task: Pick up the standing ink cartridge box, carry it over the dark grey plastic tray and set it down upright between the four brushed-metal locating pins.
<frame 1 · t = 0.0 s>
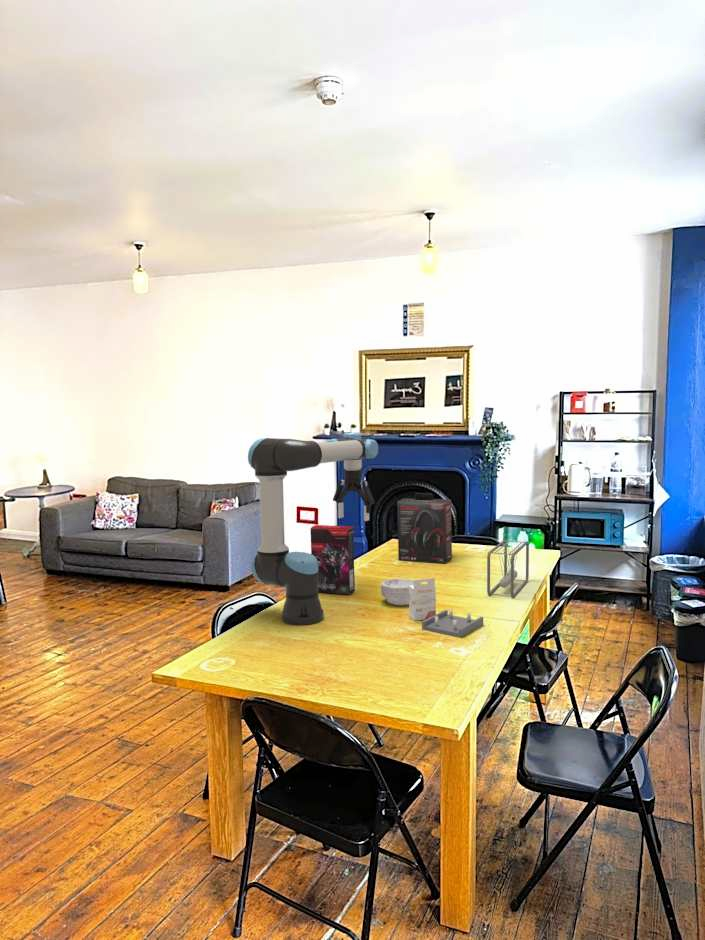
hand: (353, 519, 294), 28 cm above the table, fingers open, 13 cm apart
newton's cradle: (508, 588, 286), on the table
paper bowls: (400, 602, 269), on the table
graphics card box: (333, 592, 285), on the table
pin tray: (452, 626, 238), on the table
headset box: (424, 560, 341), on the table
ink cartridge box: (422, 618, 249), on the table
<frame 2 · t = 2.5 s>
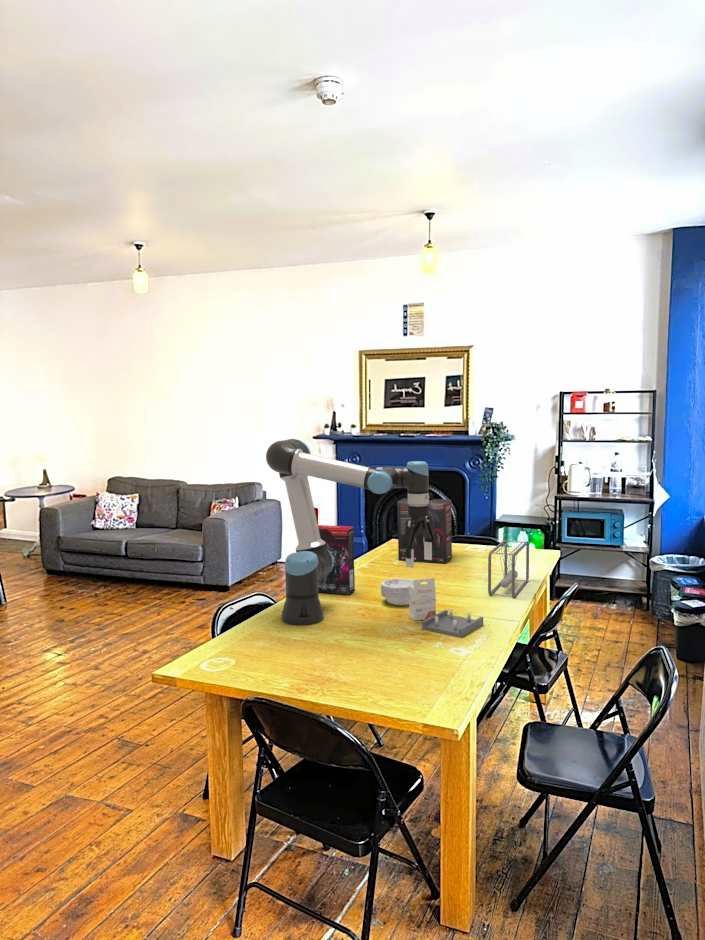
hand: (419, 563, 249), 19 cm above the table, fingers open, 13 cm apart
nothing on the table moved.
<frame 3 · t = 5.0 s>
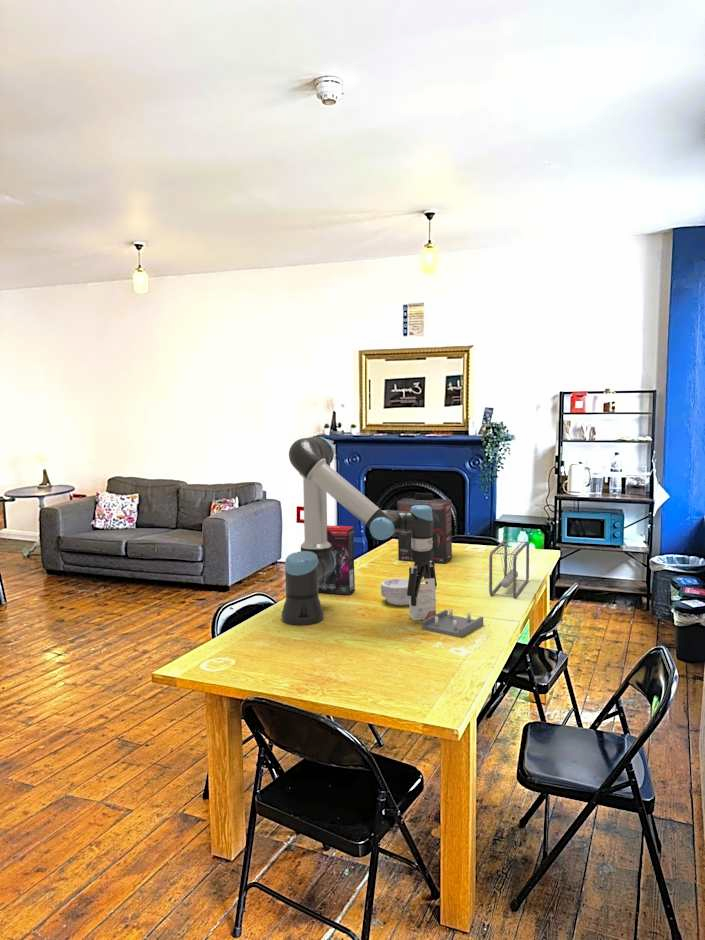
hand: (422, 610, 249), 3 cm above the table, fingers closed on ink cartridge box, 9 cm apart
ink cartridge box: (422, 618, 249), on the table, touching gripper
everything else where it was.
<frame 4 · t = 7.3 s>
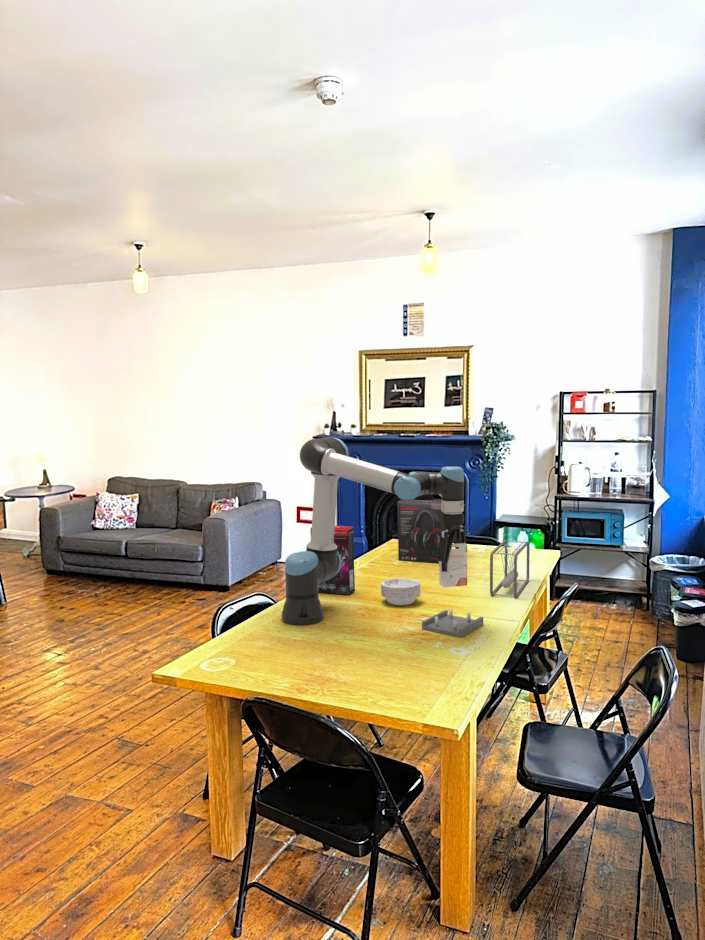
hand: (452, 577, 237), 17 cm above the table, fingers closed on ink cartridge box, 9 cm apart
ink cartridge box: (452, 585, 237), point 15 cm above the table, touching gripper
everything else where it was.
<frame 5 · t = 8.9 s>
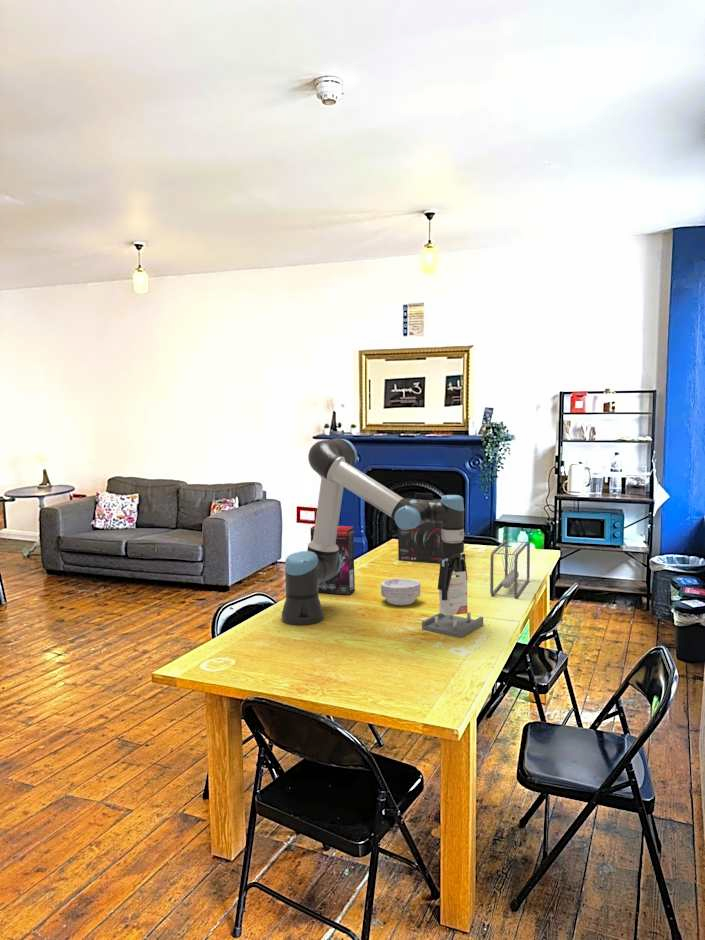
hand: (453, 605, 237), 8 cm above the table, fingers closed on ink cartridge box, 9 cm apart
ink cartridge box: (453, 613, 238), point 5 cm above the table, touching gripper
everything else where it was.
when the fingers open (6 cm above the table, at t = 9.8 s): ink cartridge box drops 2 cm, resting on pin tray.
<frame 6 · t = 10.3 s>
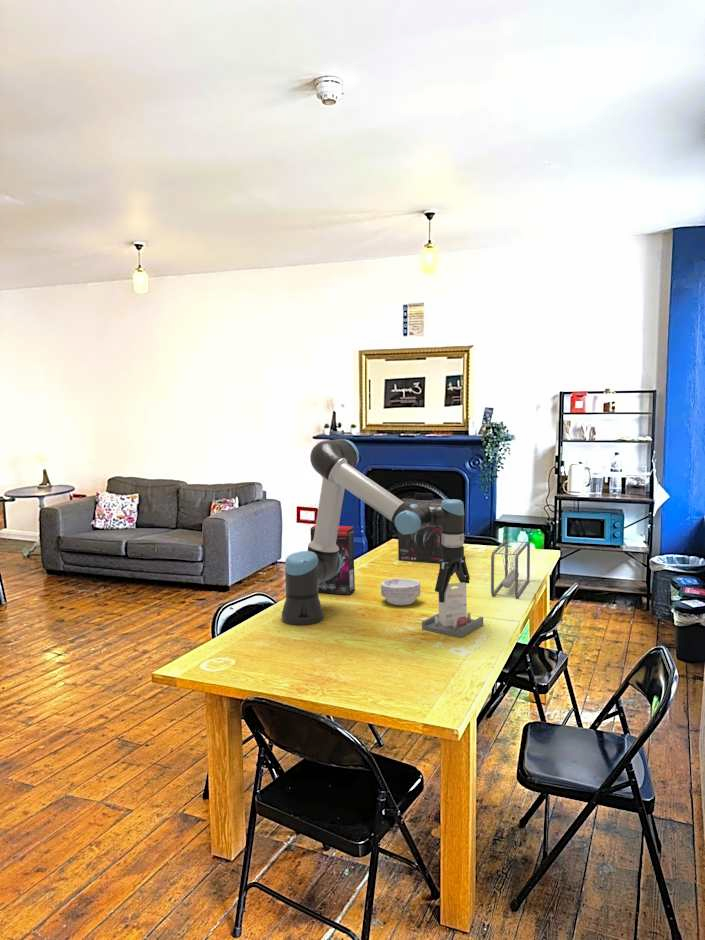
hand: (452, 606, 237), 7 cm above the table, fingers open, 13 cm apart
ink cartridge box: (452, 624, 238), point 1 cm above the table, touching pin tray
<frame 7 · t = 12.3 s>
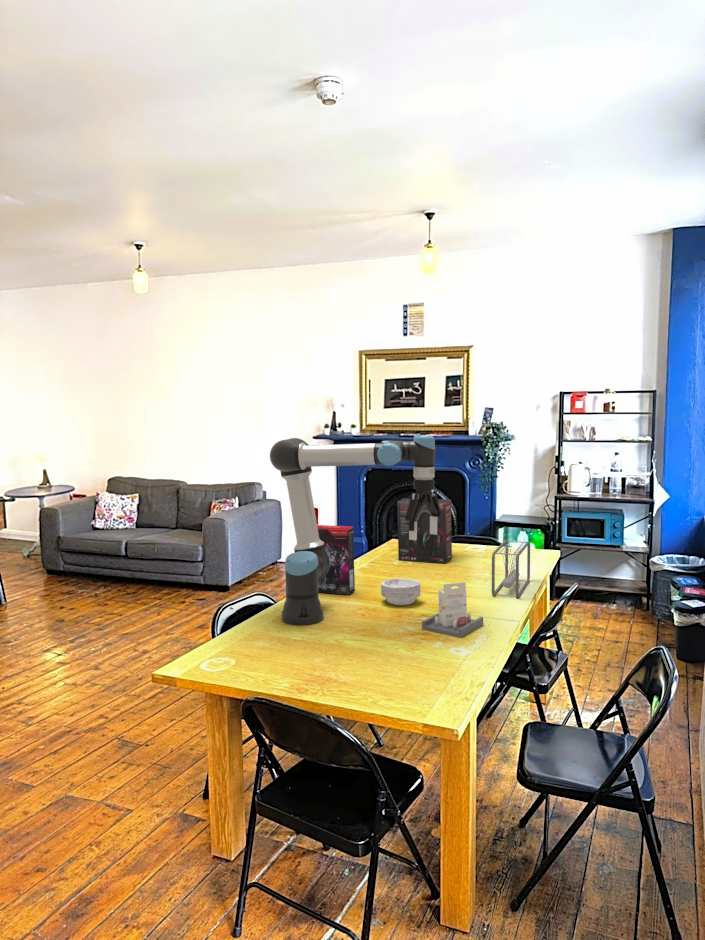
hand: (423, 536, 251), 28 cm above the table, fingers open, 13 cm apart
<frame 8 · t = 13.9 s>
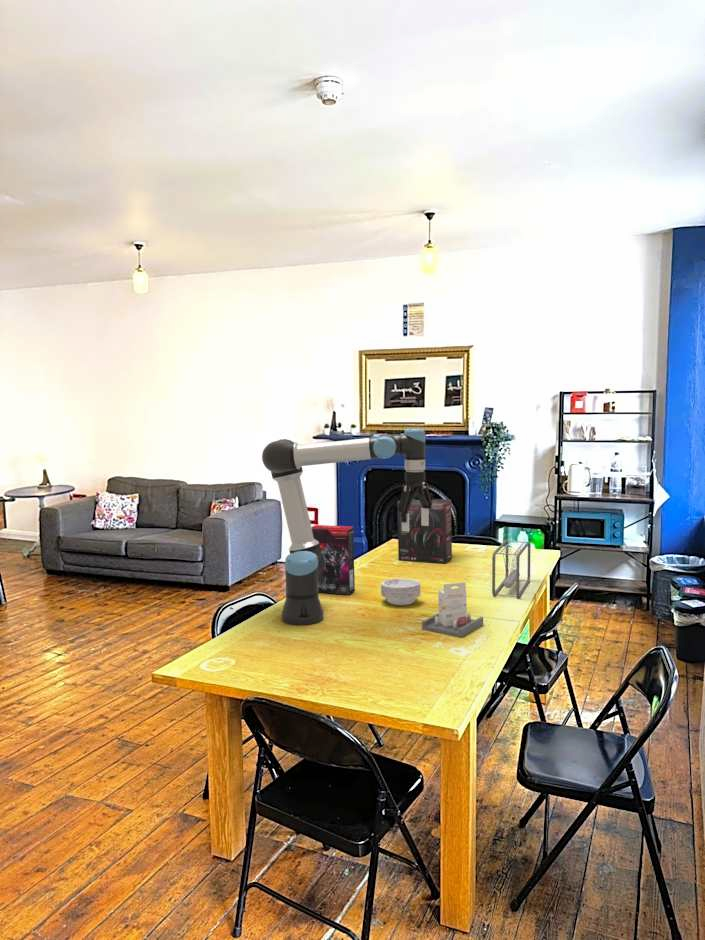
hand: (415, 528, 256), 31 cm above the table, fingers open, 13 cm apart
at the end: ink cartridge box 0.3 cm off-centre on the pin tray, point 1.0 cm above the pin tray's base; ink cartridge box tilted 0°; the gripper is holding nothing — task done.
